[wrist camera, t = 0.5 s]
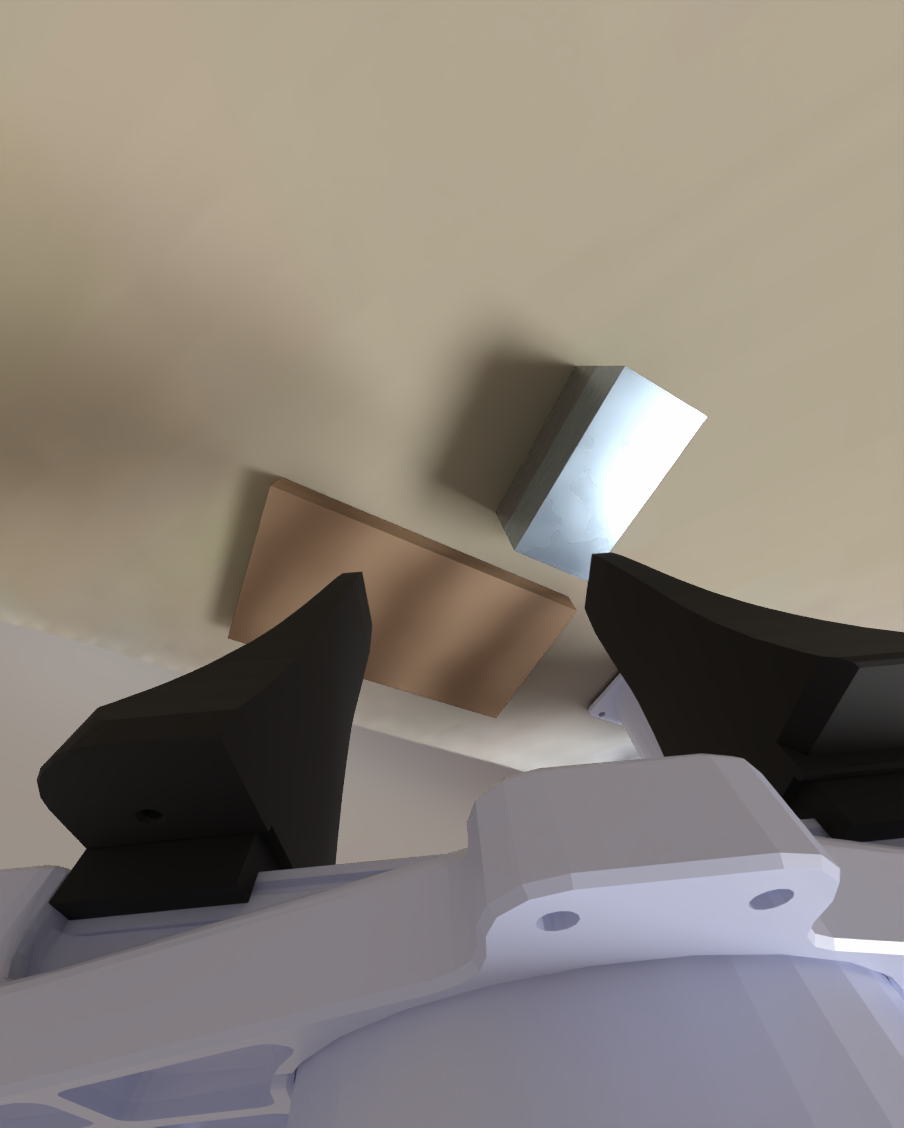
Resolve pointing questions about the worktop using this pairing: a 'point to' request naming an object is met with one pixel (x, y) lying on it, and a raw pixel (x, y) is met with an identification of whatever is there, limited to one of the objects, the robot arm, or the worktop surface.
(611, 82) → the worktop surface
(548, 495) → the block
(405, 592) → the stand
